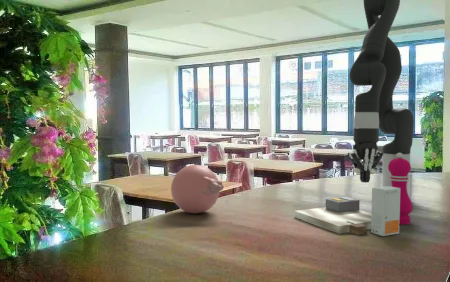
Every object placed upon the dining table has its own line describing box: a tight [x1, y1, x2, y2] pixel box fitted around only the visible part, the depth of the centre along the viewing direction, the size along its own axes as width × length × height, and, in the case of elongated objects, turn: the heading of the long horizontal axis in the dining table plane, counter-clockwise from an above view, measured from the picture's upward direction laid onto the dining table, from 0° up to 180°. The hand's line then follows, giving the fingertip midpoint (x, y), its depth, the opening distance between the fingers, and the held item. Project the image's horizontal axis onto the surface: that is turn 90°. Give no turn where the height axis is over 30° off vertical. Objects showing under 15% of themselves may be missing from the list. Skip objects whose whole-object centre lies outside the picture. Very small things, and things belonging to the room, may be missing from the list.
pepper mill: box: [388, 153, 413, 226], centre depth 120 cm, size 7×7×20 cm
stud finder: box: [325, 196, 361, 213], centre depth 128 cm, size 8×6×3 cm
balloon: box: [170, 164, 224, 214], centre depth 132 cm, size 15×20×15 cm
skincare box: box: [370, 186, 400, 237], centre depth 108 cm, size 6×4×12 cm
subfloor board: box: [294, 206, 371, 236], centre depth 120 cm, size 18×23×2 cm
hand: (364, 182), depth 132 cm, fingers closed
